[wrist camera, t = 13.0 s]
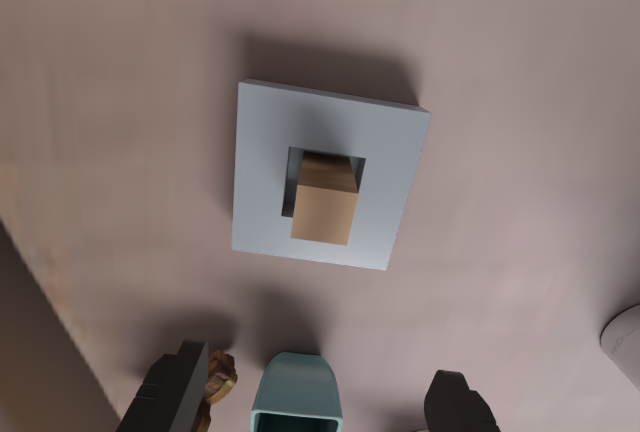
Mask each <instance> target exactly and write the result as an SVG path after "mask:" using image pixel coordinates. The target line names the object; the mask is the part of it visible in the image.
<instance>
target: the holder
mask: <svg viewBox="0 0 640 432" xmlns="http://www.w3.org/2000/svg"><path fill="white" fill-rule="evenodd" d="M431 115H432V113H430V112H428V111H427V110H425V109H423V108H422V107H420V106H415V105H409V104H403V103H397V102H391V101H384V100H378V99H372V98H366V97H360V96H354V95H348V94H342V93H335V92H329V91H323V90H317V89H311V88H305V87H299V86H293V85H286V84H280V83H274V82H268V81H262V80H256V79H250V78H248V79H245V80H243V81H240V82H239V84H238V108H237V132H236V155H235V179H234V203H233V226H232V250H235V251H243V252H251V253H258V254H266V255H273V256H281V257H289V258H296V259H304V260H311V261H319V262H327V263H334V264H342V265H349V266H357V267H365V268H372V269H380V270H386V269H387V265H388V262H389V259H390V255H391V252H392V248H393V245H394V241H395V238H396V235H397V231H398V228H399V224H400V221H401V217H402V214H403V211H404V207H405V204H406V200H407V197H408V194H409V190H410V187H411V183H412V180H413V176H414V173H415V170H416V166H417V163H418V159H419V156H420V152H421V149H422V146H423V142H424V139H425V135H426V132H427V129H428V125H429V122H430V118H431ZM304 151H307V152H314V153H320V154H327V155H333V156H339V157H346V158H350V161H351V166H352V170H353V174H354V178H355V182H356V186H357V190H358V198H357V203H356V207H355V212H354V216H353V221H352V225H351V230H350V234H349V238H348V243H347V246H344V245H337V244H330V243H323V242H316V241H309V240H301V239H294V238H290V237H291V229H292V222H293V215H294V207H295V200H296V193H297V185H298V180H299V174H300V169H301V163H302V158H303V152H304Z"/></svg>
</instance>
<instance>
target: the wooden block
mask: <svg viewBox="0 0 640 432" xmlns="http://www.w3.org/2000/svg"><path fill="white" fill-rule="evenodd" d="M357 198H358V190H357V186H356V182H355V178H354V174H353V170H352V166H351V161H350V158H346V157H339V156H333V155H327V154H320V153H314V152H307V151H304V152H303V158H302V163H301V169H300V174H299V180H298V185H297V193H296V200H295V207H294V215H293V222H292V229H291V237H290V238H294V239H301V240H309V241H316V242H323V243H330V244H337V245H344V246H347V243H348V238H349V234H350V230H351V225H352V221H353V216H354V212H355V207H356V203H357Z"/></svg>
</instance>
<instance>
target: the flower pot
mask: <svg viewBox="0 0 640 432" xmlns="http://www.w3.org/2000/svg"><path fill="white" fill-rule="evenodd" d="M342 424H343V417H342V410H341V405H340V399H339V393H338V387H337V382H336V379H335V376H334V373H333V371H332V369H331V367H330V366H329V364H328V363H327V362H326V361H325V360H324V359H323V358H322V357H321V356H317V355H308V354H298V353H289V352H281V353H279V354H278V355H277V356H275V357H274V358H273V359H272V360H271V361H270V363H269V364H268V366H267V367H266V369H265V371H264V373H263V376H262V379H261V382H260V385H259V388H258V391H257V394H256V398H255V401H254V404H253V407H252V411H251V415H250V432H340V430H341V427H342Z"/></svg>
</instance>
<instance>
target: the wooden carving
mask: <svg viewBox="0 0 640 432" xmlns="http://www.w3.org/2000/svg"><path fill="white" fill-rule="evenodd" d="M234 364H235V363H234V357H233V356H231V355H229V354H225V353H223V352H222V351H220V350H217V351H215V352H214V353H213V354H212V355H211V356H210V357H209V358H208V378H207V383H206V387H205V390H204V393H203V396H202V399H201V402H200V404H199V407H198V410H197V413H196V416H195V419H194V421H193V424H192V427H191V430H190V432H207V431H208V428H209V426H210V422H211V417H210V407H211V405H212V404H215V403H216V402H218V401H220V400H221V399H222V398H224V397H225V396H226V395H227V394H228V393H229V392H230V390H231V389H232V388H233V386H234V385H235V384H236V382H237V374H236V370H235V368H234Z"/></svg>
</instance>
